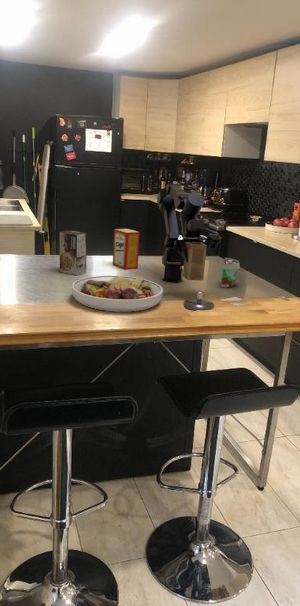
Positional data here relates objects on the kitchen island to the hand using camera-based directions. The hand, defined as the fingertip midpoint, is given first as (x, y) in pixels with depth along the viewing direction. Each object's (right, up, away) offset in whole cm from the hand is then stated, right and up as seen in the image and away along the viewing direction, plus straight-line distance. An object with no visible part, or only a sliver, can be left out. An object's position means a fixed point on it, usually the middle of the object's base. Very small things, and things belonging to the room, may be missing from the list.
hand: (195, 261), depth 167 cm
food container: (+15, -8, +25) cm, 31 cm away
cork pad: (+14, -14, +4) cm, 20 cm away
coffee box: (-46, -2, +30) cm, 55 cm away
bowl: (-26, -13, -2) cm, 30 cm away
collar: (-1, -5, +3) cm, 6 cm away
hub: (+1, -15, -4) cm, 16 cm away
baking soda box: (-26, +1, +46) cm, 53 cm away
